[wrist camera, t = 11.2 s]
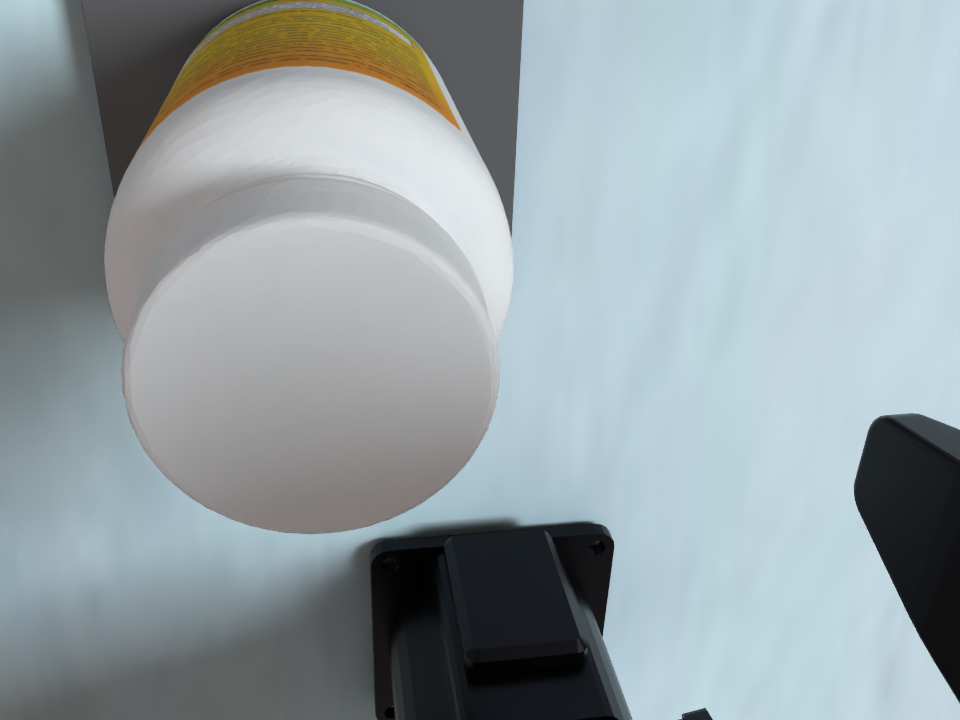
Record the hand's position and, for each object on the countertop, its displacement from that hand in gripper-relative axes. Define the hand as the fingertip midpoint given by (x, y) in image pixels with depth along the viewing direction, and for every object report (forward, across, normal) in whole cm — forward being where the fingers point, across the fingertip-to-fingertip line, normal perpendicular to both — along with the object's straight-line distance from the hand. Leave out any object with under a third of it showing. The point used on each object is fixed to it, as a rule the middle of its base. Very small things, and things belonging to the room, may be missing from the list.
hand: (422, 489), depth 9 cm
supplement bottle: (+12, +1, 0) cm, 12 cm away
